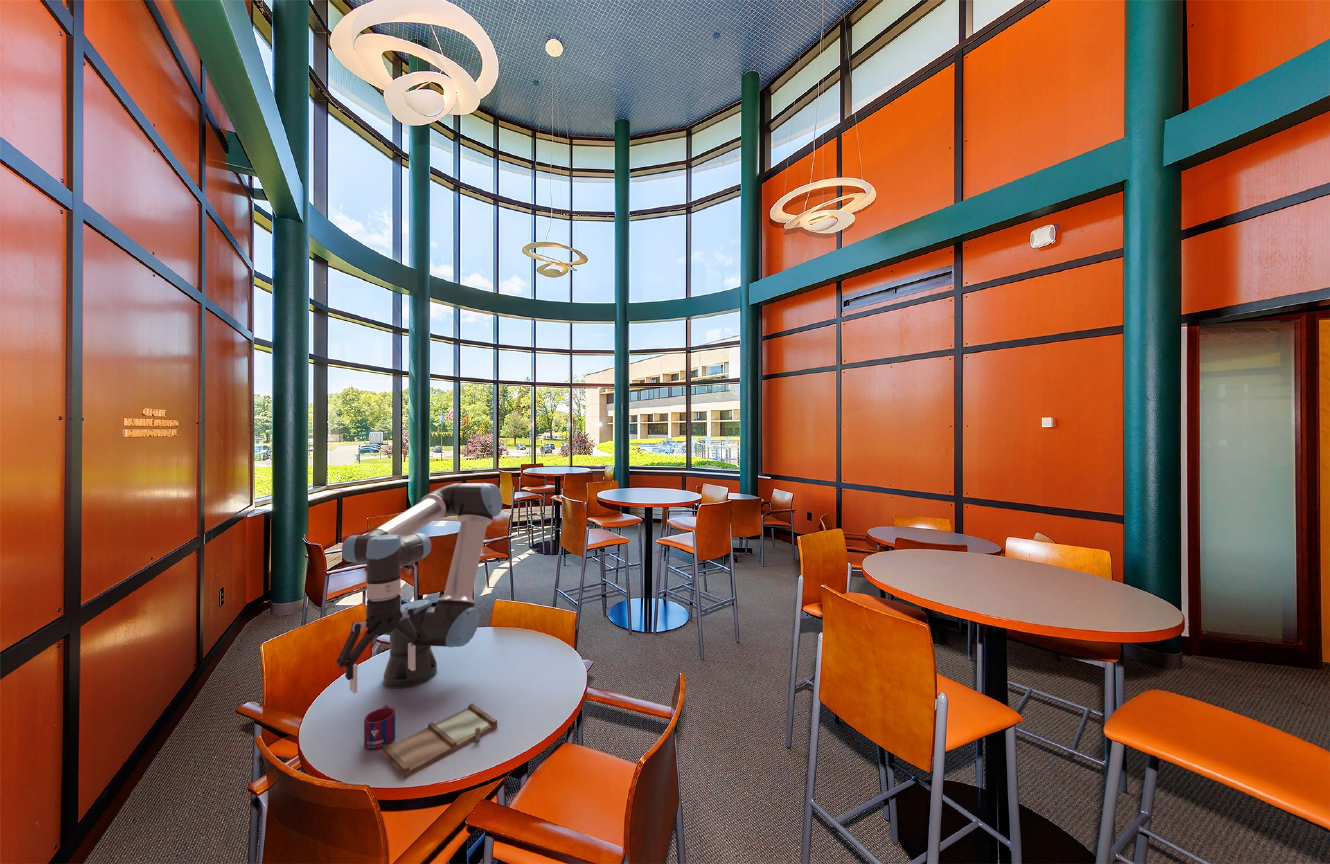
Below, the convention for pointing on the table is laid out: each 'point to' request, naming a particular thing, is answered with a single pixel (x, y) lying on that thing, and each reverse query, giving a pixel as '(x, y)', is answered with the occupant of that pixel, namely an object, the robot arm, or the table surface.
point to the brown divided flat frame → (438, 740)
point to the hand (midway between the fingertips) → (383, 679)
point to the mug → (379, 728)
